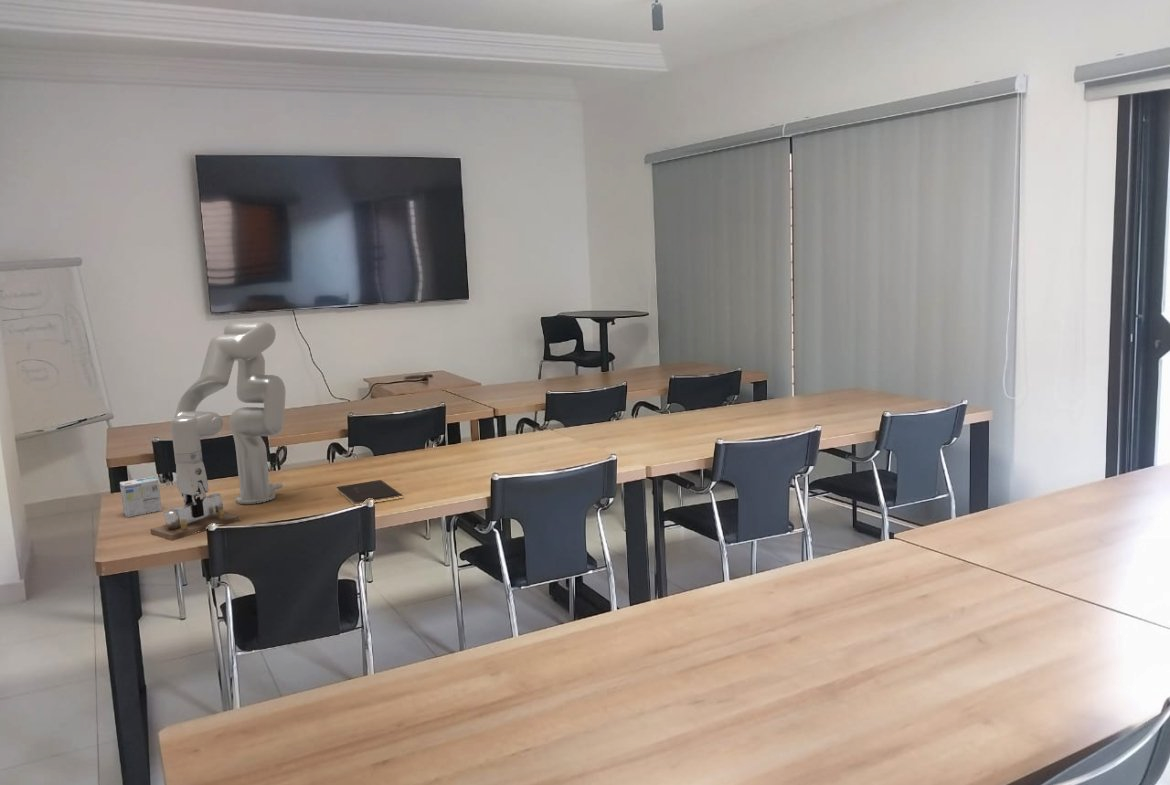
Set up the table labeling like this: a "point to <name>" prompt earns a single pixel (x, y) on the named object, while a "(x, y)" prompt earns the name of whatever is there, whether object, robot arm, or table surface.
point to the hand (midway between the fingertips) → (195, 515)
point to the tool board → (195, 525)
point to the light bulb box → (140, 496)
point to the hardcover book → (368, 491)
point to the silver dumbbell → (186, 512)
